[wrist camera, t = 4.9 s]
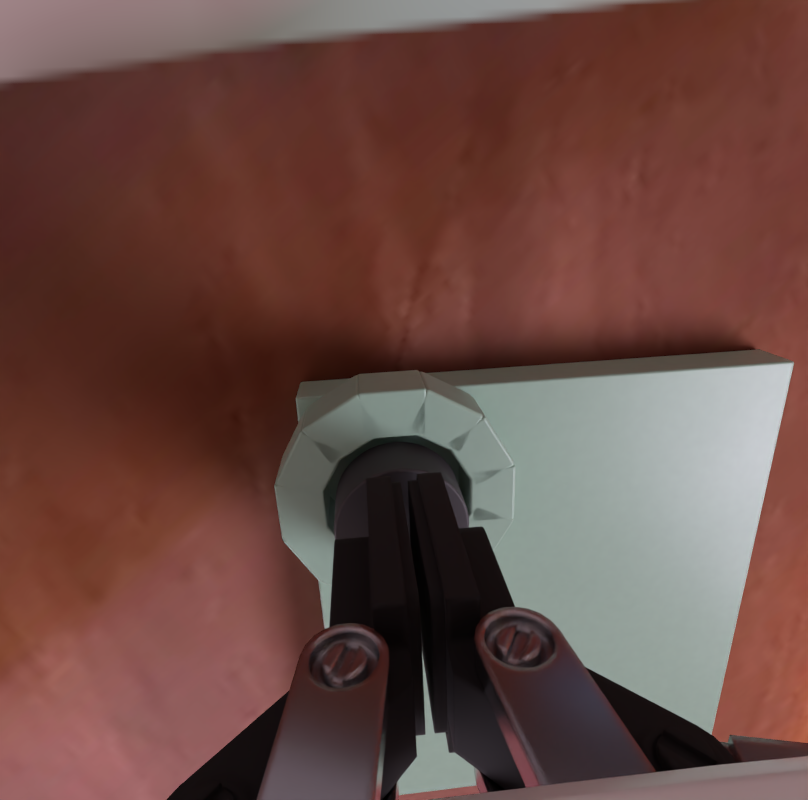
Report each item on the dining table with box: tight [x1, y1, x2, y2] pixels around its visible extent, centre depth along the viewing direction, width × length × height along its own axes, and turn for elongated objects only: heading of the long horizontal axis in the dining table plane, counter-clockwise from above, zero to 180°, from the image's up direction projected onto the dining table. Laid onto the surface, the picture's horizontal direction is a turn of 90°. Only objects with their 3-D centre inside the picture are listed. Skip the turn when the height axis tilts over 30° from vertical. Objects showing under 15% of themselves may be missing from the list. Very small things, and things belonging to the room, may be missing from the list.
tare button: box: [334, 442, 469, 544], centre depth 13 cm, size 3×3×2 cm
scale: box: [274, 349, 794, 795], centre depth 17 cm, size 17×15×3 cm
